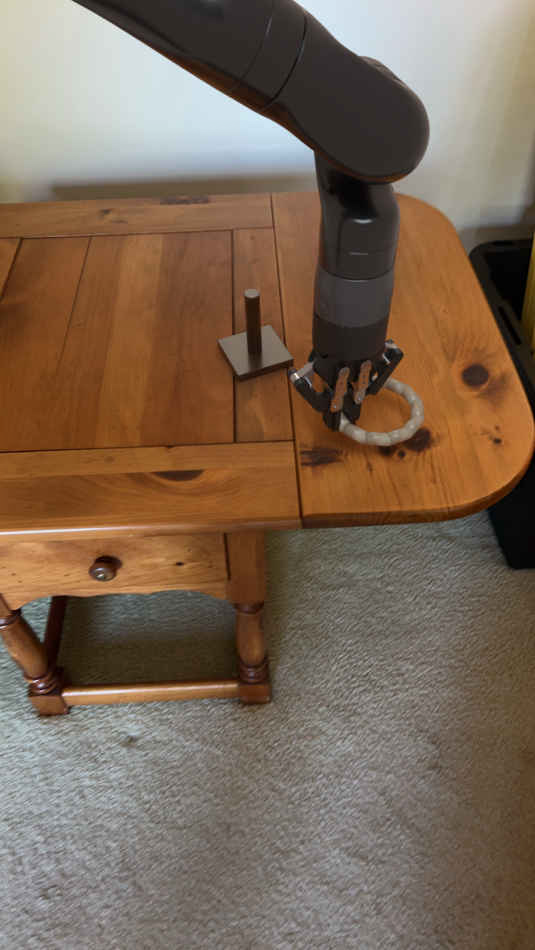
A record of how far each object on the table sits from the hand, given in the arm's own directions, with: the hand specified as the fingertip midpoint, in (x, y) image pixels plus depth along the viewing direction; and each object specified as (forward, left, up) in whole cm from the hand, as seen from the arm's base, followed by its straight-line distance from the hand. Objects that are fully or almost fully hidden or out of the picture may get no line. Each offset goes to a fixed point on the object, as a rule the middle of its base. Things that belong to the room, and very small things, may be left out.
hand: (340, 423), depth 77 cm
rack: (-3, +19, -4) cm, 20 cm away
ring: (+5, 0, 0) cm, 5 cm away
